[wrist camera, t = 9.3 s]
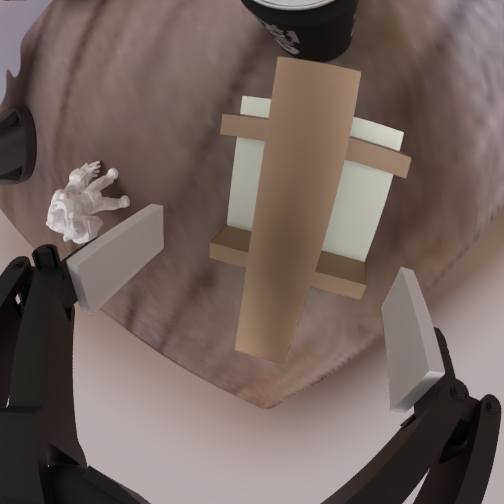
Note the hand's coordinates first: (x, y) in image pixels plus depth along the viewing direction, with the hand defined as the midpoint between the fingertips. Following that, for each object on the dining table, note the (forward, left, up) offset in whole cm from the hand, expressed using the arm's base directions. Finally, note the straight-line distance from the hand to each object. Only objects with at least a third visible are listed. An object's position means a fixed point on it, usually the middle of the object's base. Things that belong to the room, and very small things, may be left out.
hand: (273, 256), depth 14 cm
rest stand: (0, 0, -12) cm, 13 cm away
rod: (0, 0, -7) cm, 8 cm away
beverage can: (-2, +15, -13) cm, 20 cm away
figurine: (-22, -3, -13) cm, 26 cm away
